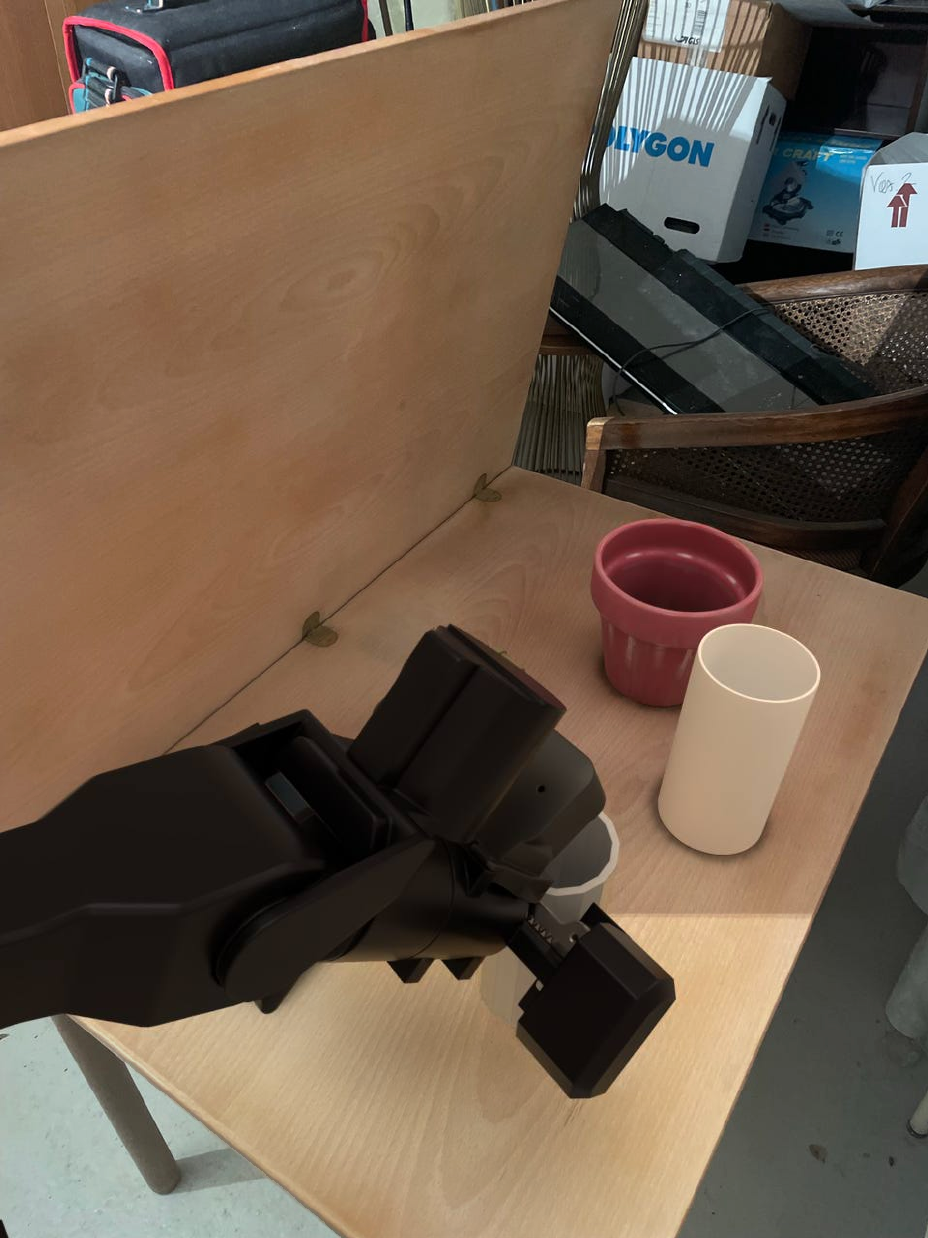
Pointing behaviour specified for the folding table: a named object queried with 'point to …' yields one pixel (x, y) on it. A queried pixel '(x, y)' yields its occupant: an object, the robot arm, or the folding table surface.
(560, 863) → the tumbler
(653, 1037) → the folding table surface
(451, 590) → the folding table surface
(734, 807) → the cup
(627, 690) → the flower pot
